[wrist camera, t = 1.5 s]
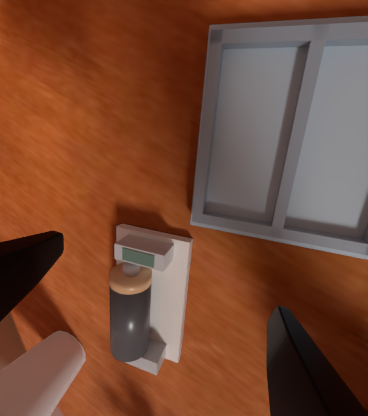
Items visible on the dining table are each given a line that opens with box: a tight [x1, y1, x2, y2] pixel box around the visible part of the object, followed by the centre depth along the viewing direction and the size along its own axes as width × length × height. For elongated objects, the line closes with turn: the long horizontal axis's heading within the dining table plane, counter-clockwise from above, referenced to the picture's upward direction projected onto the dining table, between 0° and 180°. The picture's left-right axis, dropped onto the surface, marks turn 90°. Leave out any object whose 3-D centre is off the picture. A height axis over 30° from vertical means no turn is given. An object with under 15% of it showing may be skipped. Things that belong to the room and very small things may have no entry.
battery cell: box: [109, 262, 152, 362], centre depth 23 cm, size 10×4×4 cm, turn 175°
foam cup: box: [0, 330, 86, 416], centre depth 27 cm, size 10×9×13 cm
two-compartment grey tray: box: [190, 16, 368, 260], centre depth 16 cm, size 15×14×2 cm
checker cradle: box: [114, 224, 193, 375], centre depth 24 cm, size 15×8×4 cm, turn 175°
